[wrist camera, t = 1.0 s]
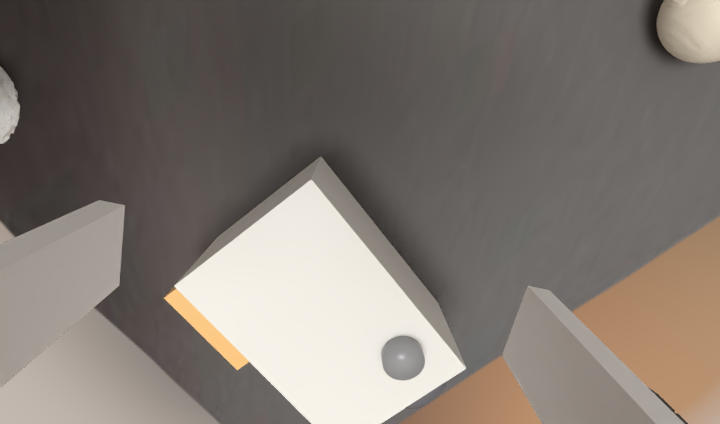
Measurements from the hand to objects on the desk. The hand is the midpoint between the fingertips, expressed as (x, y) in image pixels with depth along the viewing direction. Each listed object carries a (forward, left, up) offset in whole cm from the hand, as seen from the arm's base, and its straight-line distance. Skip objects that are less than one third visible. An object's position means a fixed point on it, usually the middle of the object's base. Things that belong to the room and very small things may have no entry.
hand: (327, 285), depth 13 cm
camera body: (+9, -7, -24) cm, 26 cm away
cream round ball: (+8, +29, -24) cm, 38 cm away
